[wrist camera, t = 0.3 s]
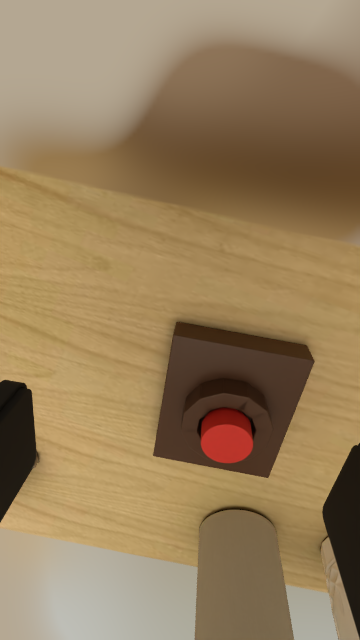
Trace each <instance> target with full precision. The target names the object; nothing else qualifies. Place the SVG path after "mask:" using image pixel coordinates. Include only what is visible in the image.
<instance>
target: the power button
mask: <svg viewBox="0 0 360 640" xmlns="http://www.w3.org/2000/svg"><path fill="white" fill-rule="evenodd" d="M201 447H202V450H203V452H204V453H205V454H206V455H207V456H208V457H209V458H211V459H212V460H215V461H217V462H221V463H235V462H238V461H241V460H243V459H245V458H246V457H247V456H248V455H249V454H250V453H251V451H252V449H253V438H252V430H251V424H250V421H249V419H248V418H247V416H246V415H245V414H243V413H242V412H240V411H238V410H236V409H232V408H219V409H215V410H213V411H211V412H209V413H208V414H207V415H206V416H205V417H204V419H203V421H202V427H201Z"/></svg>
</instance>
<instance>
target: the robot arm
mask: <svg viewBox="0 0 360 640" xmlns="http://www.w3.org/2000/svg"><path fill="white" fill-rule="evenodd" d="M35 461H36V441H35V428H34V415H33V402H32V392H31V390H30V389H27V386H26V384H25V383H21V382H15V381H9V380H3V381H2V382H0V522H1V520H2V519H3V517H4V515H5V514H6V512H7V510H8V509H9V507H10V505H11V504H12V502H13V500H14V499H15V497H16V495H17V493H18V492H19V490H20V488H21V487H22V485H23V483H24V482H25V480H26V478H27V477H28V475H29V473H30V472H31V470H32V468H33V466H34V464H35ZM323 520H324V523H325V526H326V530H327V533H328V536H329V540H330V543H331V546H332V550H333V553H334V556H335V560H336V563H337V566H338V569H339V573H340V576H341V579H342V583H343V586H344V589H345V593H346V596H347V599H348V603H349V606H350V609H351V613H352V616H353V619H354V623H355V626H356V629H357V632H358V636H359V639H360V443H359V445H355V446H353V448H352V449H351V451H350V453H349V455H348V457H347V459H346V461H345V463H344V465H343V467H342V469H341V471H340V473H339V475H338V477H337V479H336V481H335V483H334V485H333V487H332V489H331V491H330V493H329V495H328V497H327V499H326V501H325V503H324V506H323Z"/></svg>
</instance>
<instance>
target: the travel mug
mask: <svg viewBox="0 0 360 640" xmlns="http://www.w3.org/2000/svg"><path fill="white" fill-rule="evenodd" d="M195 640H294V637H293V630H292V624H291V619H290V612H289V606H288V600H287V595H286V588H285V582H284V576H283V570H282V563H281V557H280V551H279V545H278V539H277V533H276V530H275V528H274V526H273V525H272V523H271V522H270V521H268V520H267V519H266V518H264V517H263V516H261V515H259V514H256V513H253V512H250V511H245V510H226V511H221V512H217V513H215V514H213V515H211V516H209V517H208V518H206V519H205V520H204V521H203V523H202V524H201V526H200V530H199V552H198V577H197V599H196V621H195Z"/></svg>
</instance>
